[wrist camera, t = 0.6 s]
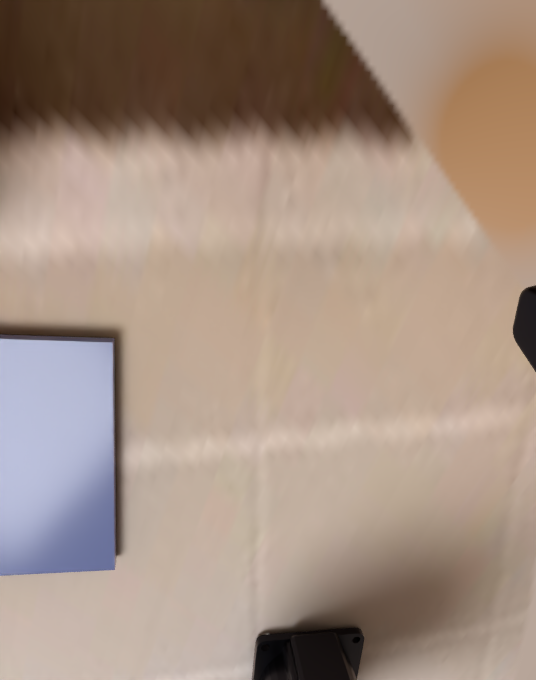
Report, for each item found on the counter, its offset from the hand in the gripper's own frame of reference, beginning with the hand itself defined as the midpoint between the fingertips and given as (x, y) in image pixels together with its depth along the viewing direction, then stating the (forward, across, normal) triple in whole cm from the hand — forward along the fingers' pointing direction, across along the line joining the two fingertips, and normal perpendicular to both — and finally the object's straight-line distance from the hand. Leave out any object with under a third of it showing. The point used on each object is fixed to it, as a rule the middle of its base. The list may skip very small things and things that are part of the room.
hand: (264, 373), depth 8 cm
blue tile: (+12, +12, +11) cm, 20 cm away
